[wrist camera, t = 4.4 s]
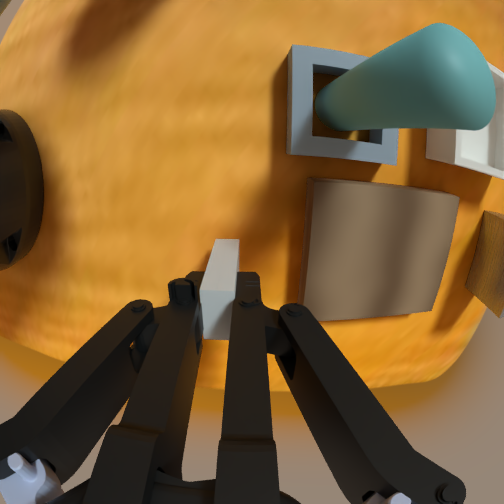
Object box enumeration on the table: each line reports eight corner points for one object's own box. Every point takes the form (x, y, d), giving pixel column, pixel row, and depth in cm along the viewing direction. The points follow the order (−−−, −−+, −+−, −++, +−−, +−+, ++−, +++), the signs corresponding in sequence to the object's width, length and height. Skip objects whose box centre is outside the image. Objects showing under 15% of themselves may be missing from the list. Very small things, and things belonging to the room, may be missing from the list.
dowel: (314, 128, 16) (421, 114, 5) (314, 80, 15) (411, 6, 4) (361, 134, 16) (497, 142, 5) (362, 88, 15) (489, 48, 4)
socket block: (286, 153, 17) (291, 154, 15) (287, 54, 14) (292, 44, 12) (382, 162, 17) (396, 165, 15) (384, 70, 14) (397, 65, 13)
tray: (425, 158, 17) (454, 164, 14) (423, 50, 13) (450, 40, 10) (492, 176, 17) (518, 184, 14) (493, 85, 14) (518, 84, 10)
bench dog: (464, 286, 21) (499, 318, 16) (484, 210, 18) (528, 231, 13) (481, 285, 21) (514, 314, 16) (500, 213, 18) (540, 233, 13)
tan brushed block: (296, 303, 22) (301, 321, 20) (305, 176, 18) (314, 181, 16) (418, 296, 22) (431, 310, 20) (441, 190, 18) (459, 197, 16)
